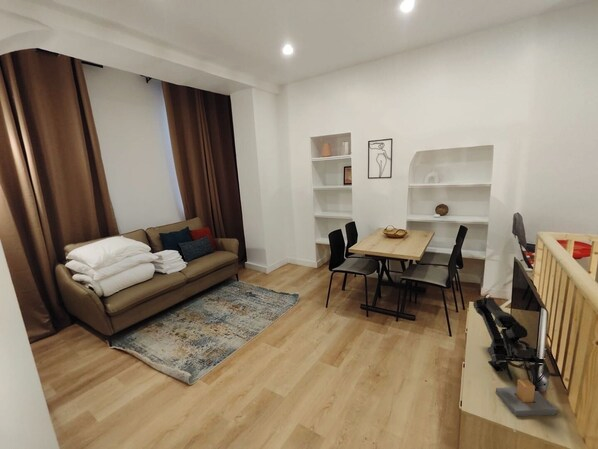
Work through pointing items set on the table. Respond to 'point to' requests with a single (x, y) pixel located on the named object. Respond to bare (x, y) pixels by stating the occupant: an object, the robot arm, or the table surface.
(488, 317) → the robot arm
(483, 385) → the table surface
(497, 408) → the table surface
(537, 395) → the jig plate
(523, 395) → the orange bar
